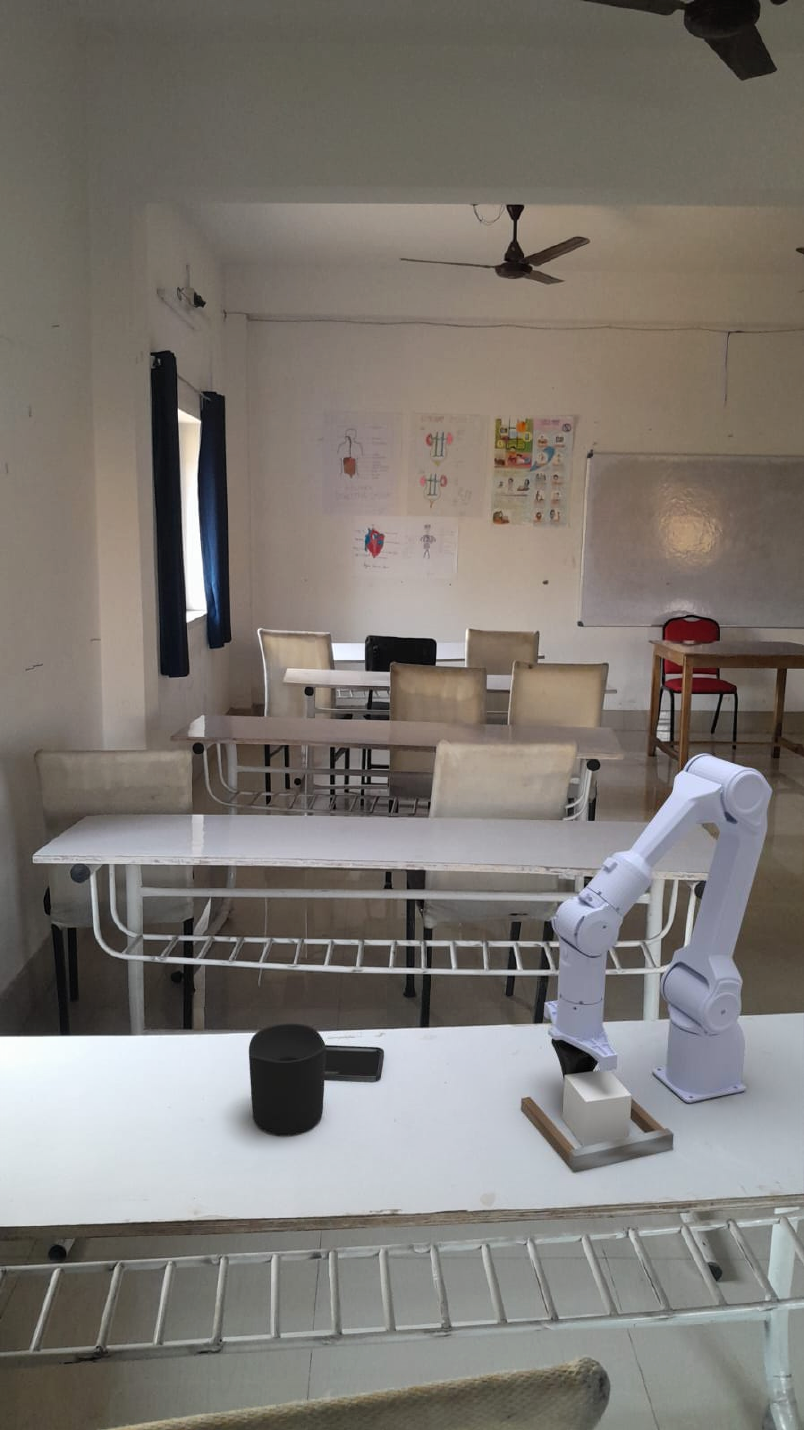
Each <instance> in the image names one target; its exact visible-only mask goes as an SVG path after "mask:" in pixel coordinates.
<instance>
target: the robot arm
mask: <svg viewBox="0 0 804 1430" xmlns="http://www.w3.org/2000/svg"><path fill="white" fill-rule="evenodd" d="M767 781H768V780H766V778H765V777H764V775H763V774H762V773H761V772H760V771H758V770H757V769H755V768H752V767H746V766H743V765H739V764H736V763H733V762H730V761H727V760H724V759H720V758H718V757H716V756H714V755H712V754H710V753H699V754H696V755H695V756H693V757H692V758H690V759H689V760H688V761H687V762H686V764H685V766H684V767H683V770H681V771H680V772H679V773H678V774H677V775H676V776H674V780H673V787H672V792H671V793H670V795H669V797H668V798H667V799H666V800H665V802H664V803H663V804H662V806H661V807H660V809H659V810H658V811H657V813H656V814H655V815H654V816H653V818H652V820H650V822H649V823H648V825H647V826H646V828H645V829H644V831H642V833H641V835H640V836H639V837H638V839H636V841H635V842H634V843H633V845H632V847H631V848H630V849H629V850H625V851H618V852H615V853H614V854H613V855H612V856H611V857H610V856H609V857H607V858H606V859H605V860H604V861H603V863H602V864H601V865H602V868H600V869H599V871H598V872H597V873H596V874H595V875H594V877H593V878H592V879H591V880H590V882H588V884H587V885H586V886H585V887H584V888H583V889H582V890H580V892H579V893H578V895H577V896H573V897H571V898H568V899H566V900H565V901H564V902H562V903H561V904H560V905H559V906H558V908H557V910H556V913H555V915H554V917H551V927H552V929H553V932H554V933H555V934H556V935H557V938H558V948H559V960H558V961H559V962H558V981H557V999H556V1000H553V1001H547V1002H544V1006H543V1007H544V1008H543V1011H544V1012H543V1016H544V1018H546V1019H548V1020H550V1021H551V1025H552V1027H549V1028H548V1029H547V1034H548V1036H549V1037H551V1046H552V1048H553V1049H554V1052H555V1054H556V1056H557V1058H558V1061H559V1064H560V1069H561V1073H562V1078H563V1080H564V1079H565V1075H569V1074H576V1073H584V1072H591V1071H595V1069H596V1067H597V1065H598V1069H599V1070H601V1071H609V1070H610V1071H612V1070H617V1068H618V1053H617V1052H616V1051H615V1050H614V1049H613V1047H612V1044H611V1043H610V1040H609V1038H608V1035H607V1032H606V1031H605V1028H604V1026H603V1024H604V1009H605V1008H604V1006H605V991H606V990H605V988H606V971H607V957H608V956H607V955H608V951H609V950H610V949H611V948H612V947H614V946H615V945H616V943H617V941H618V939H619V938H618V937H619V934H620V928H621V925H623V922H624V921H623V920H624V917H625V916H626V915H627V914H628V912H629V911H630V910H631V909H632V907H633V906H635V904H636V903H637V902H638V901H639V899H640V898H641V897H642V896H643V894H644V893H645V892H646V891H647V890H648V888H649V887H651V885H652V883H653V880H652V879H653V877H652V869H653V868H654V867H655V866H656V865H657V864H658V862H660V861H661V860H662V858H663V857H665V856H666V854H667V853H669V852H670V850H672V849H673V847H674V846H676V844H677V843H679V841H680V840H681V839H682V838H683V837H684V836H686V834H687V833H688V832H689V831H690V830H691V829H693V827H694V826H695V825H699V824H712V823H713V824H714V825H715V826H716V828H717V830H719V831H718V832H719V834H718V836H717V837H718V838H717V841H716V845H715V848H714V853H713V857H712V859H711V863H710V867H709V871H708V874H707V879H706V882H705V885H704V889H703V893H702V896H701V901H700V904H699V908H698V912H697V914H696V915H697V916H696V918H695V923H694V926H693V930H692V934H691V937H690V942H689V944H687V945H685V946H683V947H681V948H679V949H676V950H675V951H674V952H673V956H672V960H671V961H670V964H669V966H668V967H667V968H666V970H665V971H664V972H663V974H662V976H661V979H660V983H659V988H660V989H659V991H660V993H661V996H662V998H663V999H664V1001H666V1002H667V1012H668V1013H669V1021H668V1023H669V1025H668V1039H667V1052H666V1053H667V1055H666V1064H665V1065H666V1066H665V1065H664V1066H660V1067H656V1068H652V1071H651V1073H652V1074H653V1076H655V1077H656V1078H657V1079H659V1080H660V1081H661V1082H662V1083H663V1084H664V1085H665V1086H667V1087H668V1088H669V1089H670V1090H671V1091H673V1093H675V1094H676V1095H677V1096H678V1097H679V1098H680V1099H682V1100H683V1101H684V1102H685V1103H687V1104H689V1103H694V1102H699V1101H703V1100H708V1099H711V1098H713V1099H714V1098H717V1097H720V1096H721V1097H722V1096H726V1095H727V1096H728V1095H731V1094H735V1093H740V1092H744V1091H746V1088H747V1087H746V1086H745V1084H743V1073H744V1072H743V1071H744V1060H745V1049H746V1048H745V1047H746V1046H745V1045H746V1042H745V1041H746V1040H745V1034H744V1032H743V1029H742V1026H741V1025H740V1023H739V1022H738V1019H739V1017H740V1015H741V1012H742V1011H741V1010H742V999H741V992H742V987H743V983H744V982H743V978H742V976H741V974H740V972H739V969H738V968H737V966H736V964H735V961H734V960H733V956H734V953H735V948H736V945H737V941H738V937H739V934H740V930H741V927H742V922H743V919H744V915H745V912H746V909H747V904H748V902H749V901H748V900H749V897H750V894H751V890H752V887H753V883H754V879H755V876H756V872H757V868H758V864H759V861H760V857H761V853H762V849H763V846H764V843H765V838H766V835H767V831H768V816H767V815H768V813H767V811H768V808H769V804H770V801H771V797H772V793H773V789H772V787H771V786H770V784H769V783H768V782H767Z"/></svg>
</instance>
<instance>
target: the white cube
mask: <svg viewBox="0 0 804 1430" xmlns="http://www.w3.org/2000/svg"><path fill="white" fill-rule="evenodd" d="M632 1095H633V1094H631V1092H629V1090H628V1089H627V1088H626V1087H625V1086H624V1085H623V1084H622V1082H620V1080H619V1079H618V1077H616V1075H615V1074H613V1072H612V1070H609V1071H601V1070H600V1069H599V1070H594V1071H591V1072H584V1073H576V1074H569V1075H565V1079H563V1101H562V1102H563V1103H562V1117H561V1118H562V1120H563V1122H564V1123H565V1124H566V1125H567V1128H568V1129H569V1130H570V1132H571V1133H572V1134H573V1136H574V1137H575V1138H576V1140H577V1141H578V1142H579V1144H580V1145H581V1148H582V1147H586V1146H591V1145H595V1144H600V1143H604V1142H608V1141H613V1140H617V1139H622V1138H626V1137H630V1128H631V1127H630V1126H631V1118H630V1114H631V1098H632V1099H633V1097H632Z"/></svg>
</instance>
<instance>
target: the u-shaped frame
mask: <svg viewBox="0 0 804 1430" xmlns="http://www.w3.org/2000/svg"><path fill="white" fill-rule="evenodd" d="M520 1103H521V1104H520V1110H521V1111H522V1112H523V1114H524V1115H525V1116H526V1118H528V1119H529V1121H530V1122H531V1123H532V1124H533V1126H534V1127H535V1128H536V1129H537V1130H538V1131H539V1133H540V1134H541V1135H542V1137H544V1139H545V1140H546V1141H547V1142H548V1143H549V1144H550V1146H551V1147H552V1148H553V1150H554V1151H555V1152H556V1153H557V1154H558V1156H559V1157H560V1158H561V1159H562V1160H563V1161H564V1162H565V1164H566V1165H567V1166H568V1167H569V1168H570V1170H571V1171H572V1172H573V1173H576V1172H577V1173H578V1172H581V1171H585V1170H590V1169H594V1168H598V1167H601V1166H607V1165H610V1164H611V1165H612V1164H615V1163H619V1162H623V1161H628V1160H633V1159H636V1158H640V1157H645V1156H648V1155H654V1154H658V1153H661V1152H665V1151H666V1152H667V1151H670V1150H673V1148H674V1147H673V1146H674V1137H675V1136H674V1135H675V1133H674V1132H672V1131H671V1130H670V1129H669V1127H667V1128H664V1127H663V1126H662V1125H661V1124H660V1123H659V1122H658V1121H657V1120H655V1118H654V1117H652V1116H651V1115H650V1114H649V1113H648V1112H647V1111H646V1110H645V1109H644V1108H643V1107H642V1106H641V1105H640V1104H639V1103H638V1102H636V1100H635V1099H634V1098H633V1097H632V1098H631V1114H630V1120H632V1121H633V1122H634V1123H635V1124H636V1125H637V1126H638V1127H639V1128H640V1129H641V1130H642V1131H643V1133H640V1134H636V1135H632V1136H631V1135H629V1137H626V1138H622V1139H617V1140H613V1141H608V1142H604V1143H600V1144H595V1145H591V1146H586V1147H582V1146H581V1147H579V1148H578V1147H577V1148H576V1147H574V1146H573V1144H572V1143H571V1142H570V1141H569V1140H568V1139H567V1138H566V1136H564V1134H563V1133H562V1132H561V1130H560V1129H559V1128H558V1127H557V1126H556V1125H555V1123H553V1121H552V1120H551V1119H550V1118H549V1117H548V1115H546V1114H545V1112H544V1111H543V1110H542V1109H541V1108H540V1106H539V1105H538V1104H537V1103H536V1102H535V1101H534V1099H533V1098H532V1097H531V1096H527V1097H521V1099H520Z"/></svg>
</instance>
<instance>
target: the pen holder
mask: <svg viewBox="0 0 804 1430" xmlns="http://www.w3.org/2000/svg"><path fill="white" fill-rule="evenodd" d="M326 1045H327V1044H326V1043H325V1040H324V1039H323V1037H322V1036H321V1034H320V1033H319V1032H318V1031H317V1030H316V1029H315V1028H314V1027H311V1026H309V1025H306V1024H301V1023H281V1024H274V1025H270V1026H267V1027H264V1028H262V1029H261V1030H259V1031H257V1032H256V1033H255V1034H254V1035H253V1036H252V1037H251V1039H250V1042H249V1046H248V1061H249V1062H248V1064H249V1079H250V1095H251V1097H250V1098H251V1107H252V1108H251V1110H252V1118H253V1122H254V1123H255V1124H256V1126H257V1127H258V1128H259V1129H260V1130H262V1131H264V1132H266V1133H267V1134H270V1135H274V1136H283V1137H284V1136H287V1137H288V1136H294V1135H299V1134H303V1133H306V1132H308V1131H309V1130H310V1131H311V1129H313V1128H314V1127H315V1126H316V1125H317V1124H318V1123H319V1122H320V1120H321V1119H322V1117H323V1111H324V1098H325V1097H324V1096H325V1080H324V1079H325V1057H326Z"/></svg>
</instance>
